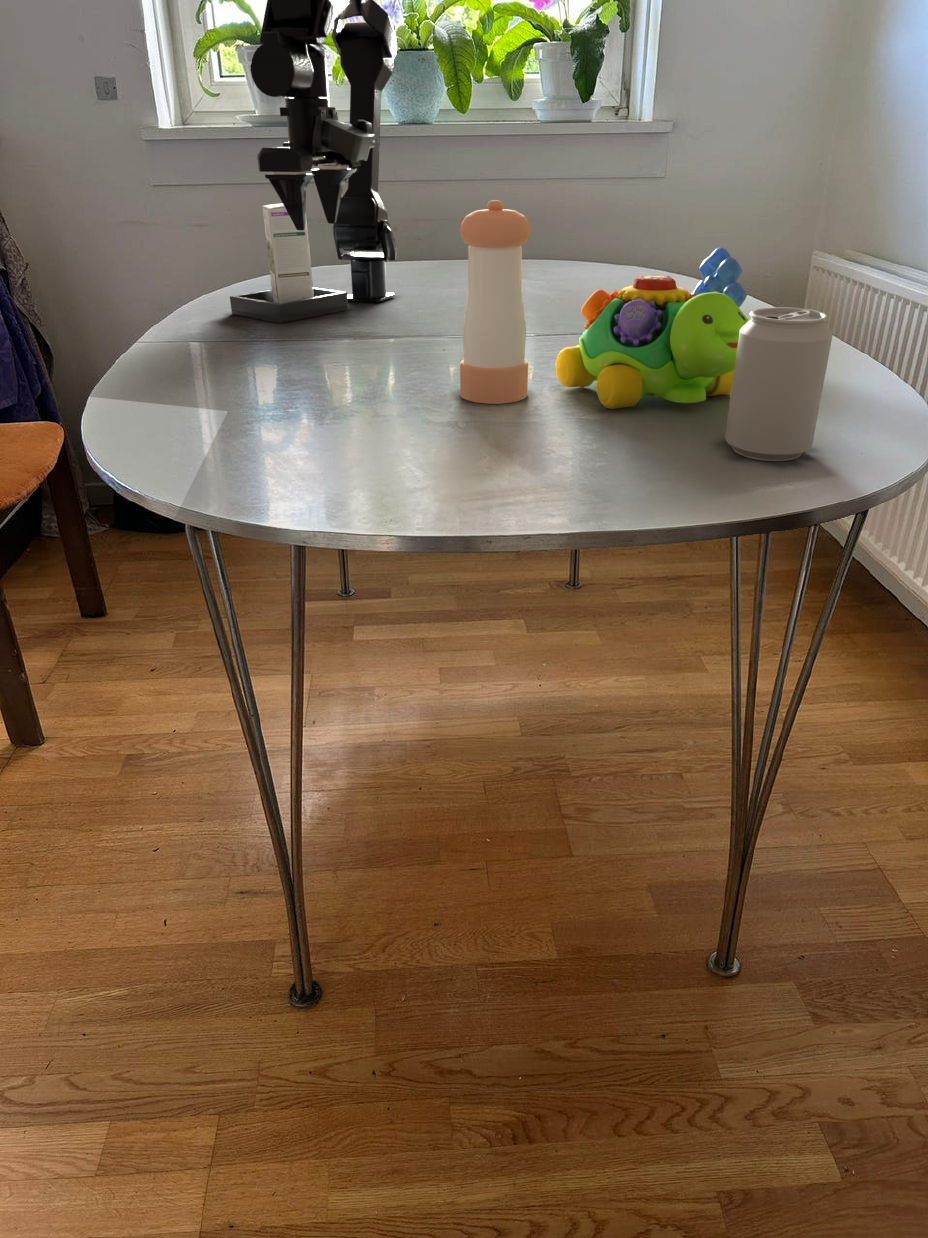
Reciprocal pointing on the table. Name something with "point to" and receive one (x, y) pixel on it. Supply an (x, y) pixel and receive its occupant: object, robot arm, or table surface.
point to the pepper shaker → (494, 307)
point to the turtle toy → (654, 344)
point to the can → (778, 383)
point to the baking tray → (288, 305)
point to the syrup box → (287, 256)
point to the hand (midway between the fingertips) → (316, 226)
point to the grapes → (721, 276)
